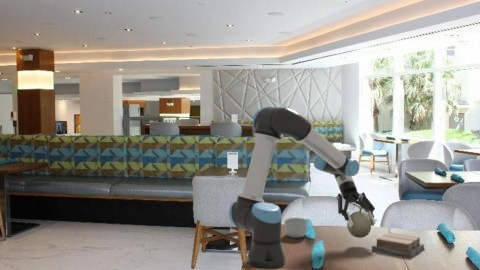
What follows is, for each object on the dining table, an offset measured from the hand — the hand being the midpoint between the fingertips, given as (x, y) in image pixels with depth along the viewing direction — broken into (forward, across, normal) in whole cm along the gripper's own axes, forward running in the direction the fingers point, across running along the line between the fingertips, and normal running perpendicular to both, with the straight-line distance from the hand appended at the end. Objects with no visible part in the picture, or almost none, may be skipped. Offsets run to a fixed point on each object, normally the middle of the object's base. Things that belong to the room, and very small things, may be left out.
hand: (362, 225), depth 222 cm
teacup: (-12, +21, -27) cm, 36 cm away
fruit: (+2, 0, -6) cm, 7 cm away
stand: (+12, -14, -2) cm, 18 cm away
